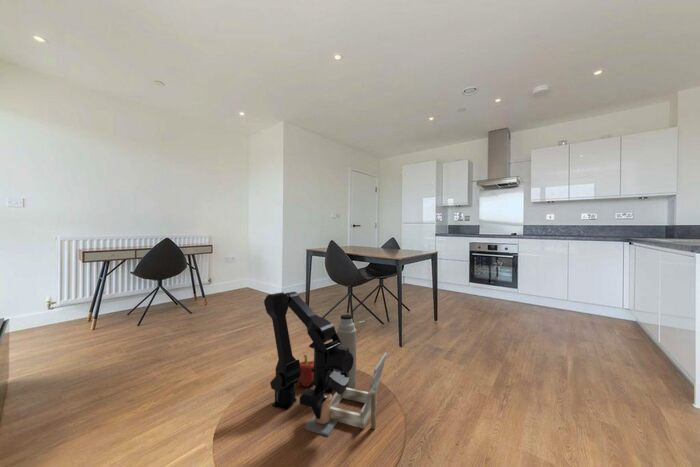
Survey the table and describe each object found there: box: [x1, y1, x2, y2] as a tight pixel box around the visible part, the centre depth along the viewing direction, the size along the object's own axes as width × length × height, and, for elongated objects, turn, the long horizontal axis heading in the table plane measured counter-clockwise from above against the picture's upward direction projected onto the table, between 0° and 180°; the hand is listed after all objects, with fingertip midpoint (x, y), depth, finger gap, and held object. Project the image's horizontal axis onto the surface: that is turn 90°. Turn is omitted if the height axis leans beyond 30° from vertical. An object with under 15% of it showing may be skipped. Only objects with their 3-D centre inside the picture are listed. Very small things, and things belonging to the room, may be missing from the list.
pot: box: [314, 391, 333, 424], centre depth 84 cm, size 6×6×7 cm
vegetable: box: [295, 354, 314, 387], centre depth 110 cm, size 11×10×10 cm
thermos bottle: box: [336, 314, 357, 389], centre depth 109 cm, size 8×8×28 cm
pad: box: [304, 415, 339, 437], centre depth 84 cm, size 8×8×1 cm
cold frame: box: [331, 352, 388, 430], centre depth 91 cm, size 18×14×19 cm
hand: (322, 413), depth 84 cm, fingers closed on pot, 5 cm apart
